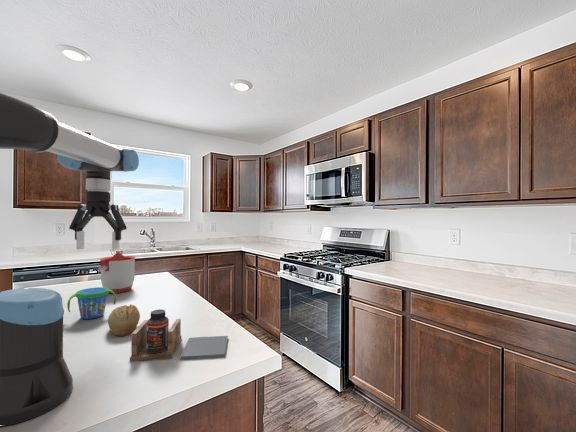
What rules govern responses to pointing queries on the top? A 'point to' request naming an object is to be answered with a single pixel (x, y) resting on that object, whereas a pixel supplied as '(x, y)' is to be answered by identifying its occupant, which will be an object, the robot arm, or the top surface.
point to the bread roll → (123, 320)
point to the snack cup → (91, 302)
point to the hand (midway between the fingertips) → (97, 249)
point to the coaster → (205, 347)
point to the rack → (141, 341)
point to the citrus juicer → (117, 272)
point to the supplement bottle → (157, 332)
